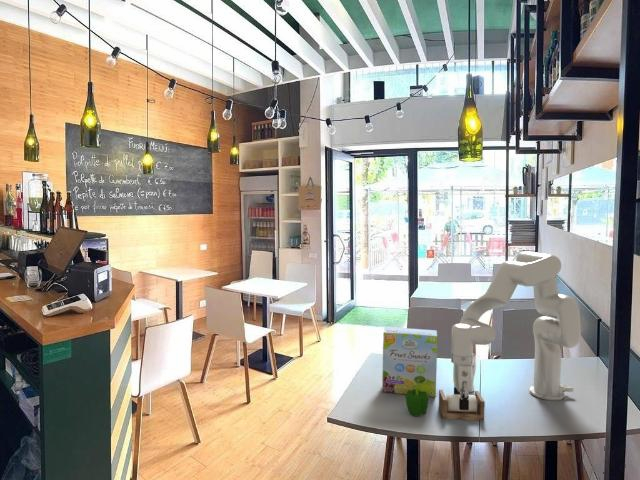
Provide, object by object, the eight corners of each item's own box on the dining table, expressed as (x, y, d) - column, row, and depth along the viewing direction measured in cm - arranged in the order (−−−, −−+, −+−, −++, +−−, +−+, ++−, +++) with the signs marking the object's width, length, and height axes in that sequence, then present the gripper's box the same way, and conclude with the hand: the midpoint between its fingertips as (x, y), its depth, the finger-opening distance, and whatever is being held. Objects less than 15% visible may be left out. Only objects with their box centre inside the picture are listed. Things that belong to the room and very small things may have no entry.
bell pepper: (429, 419, 159) (429, 392, 158) (405, 417, 161) (406, 391, 160) (427, 408, 167) (427, 383, 167) (405, 407, 169) (405, 381, 168)
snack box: (381, 393, 181) (382, 331, 179) (383, 384, 190) (383, 326, 187) (436, 398, 176) (437, 335, 174) (435, 389, 185) (436, 328, 183)
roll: (473, 407, 166) (473, 392, 165) (477, 415, 160) (477, 399, 159) (445, 406, 167) (445, 391, 166) (448, 414, 161) (448, 398, 161)
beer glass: (476, 393, 180) (477, 357, 179) (458, 392, 182) (459, 356, 181) (474, 386, 187) (475, 352, 186) (457, 385, 189) (457, 351, 187)
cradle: (477, 408, 167) (478, 390, 167) (484, 420, 158) (484, 401, 158) (438, 407, 169) (439, 389, 168) (442, 418, 160) (443, 399, 159)
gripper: (478, 367, 153) (477, 415, 154) (467, 350, 170) (466, 393, 171) (456, 366, 153) (455, 414, 155) (447, 350, 171) (446, 393, 172)
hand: (460, 403), depth 163 cm, fingers open, 9 cm apart
